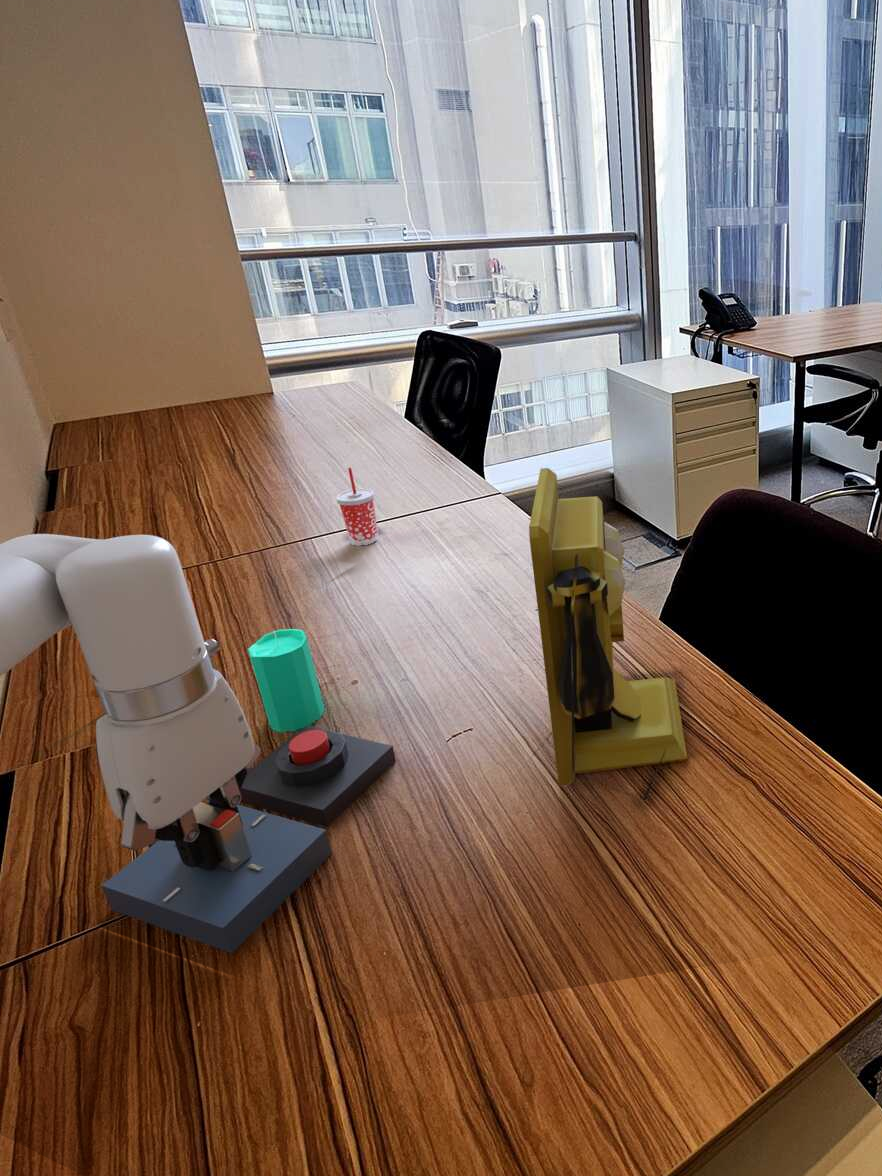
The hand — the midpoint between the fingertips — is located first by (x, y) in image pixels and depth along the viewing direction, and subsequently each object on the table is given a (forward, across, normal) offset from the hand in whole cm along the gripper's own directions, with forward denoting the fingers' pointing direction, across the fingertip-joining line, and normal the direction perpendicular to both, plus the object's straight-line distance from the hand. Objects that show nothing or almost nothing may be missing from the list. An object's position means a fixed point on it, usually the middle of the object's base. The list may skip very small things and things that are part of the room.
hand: (216, 851), depth 70 cm
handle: (0, 0, 0) cm, 0 cm away
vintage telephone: (+4, -30, +26) cm, 40 cm away
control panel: (+4, 0, 0) cm, 4 cm away
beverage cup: (+4, -65, -42) cm, 77 cm away
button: (0, -13, -2) cm, 13 cm away
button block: (+4, -13, -2) cm, 14 cm away
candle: (+4, -21, -13) cm, 25 cm away
